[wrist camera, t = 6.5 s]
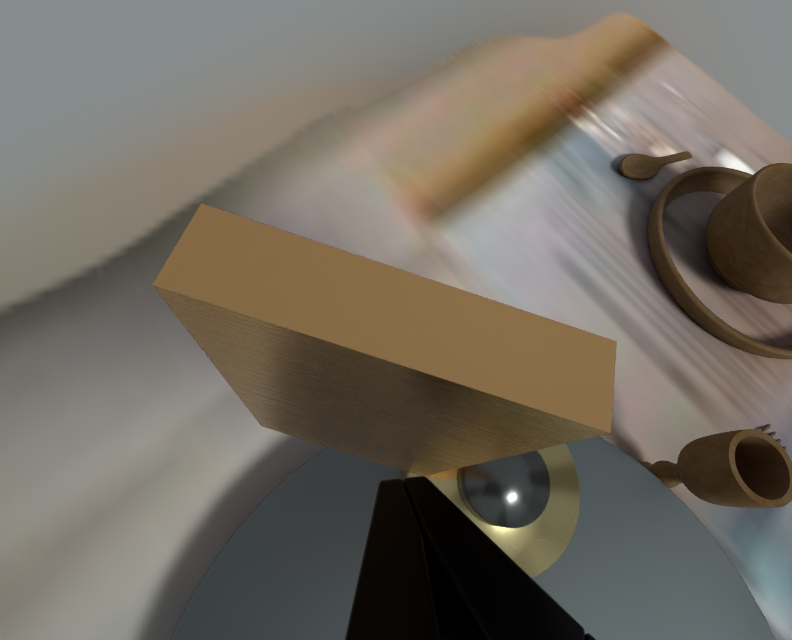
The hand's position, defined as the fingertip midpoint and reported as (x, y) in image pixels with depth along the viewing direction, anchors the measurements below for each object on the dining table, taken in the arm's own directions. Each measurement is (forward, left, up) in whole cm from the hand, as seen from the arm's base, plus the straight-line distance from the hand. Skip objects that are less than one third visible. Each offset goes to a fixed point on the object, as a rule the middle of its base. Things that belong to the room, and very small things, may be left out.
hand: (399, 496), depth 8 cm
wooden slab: (+2, -1, -8) cm, 8 cm away
